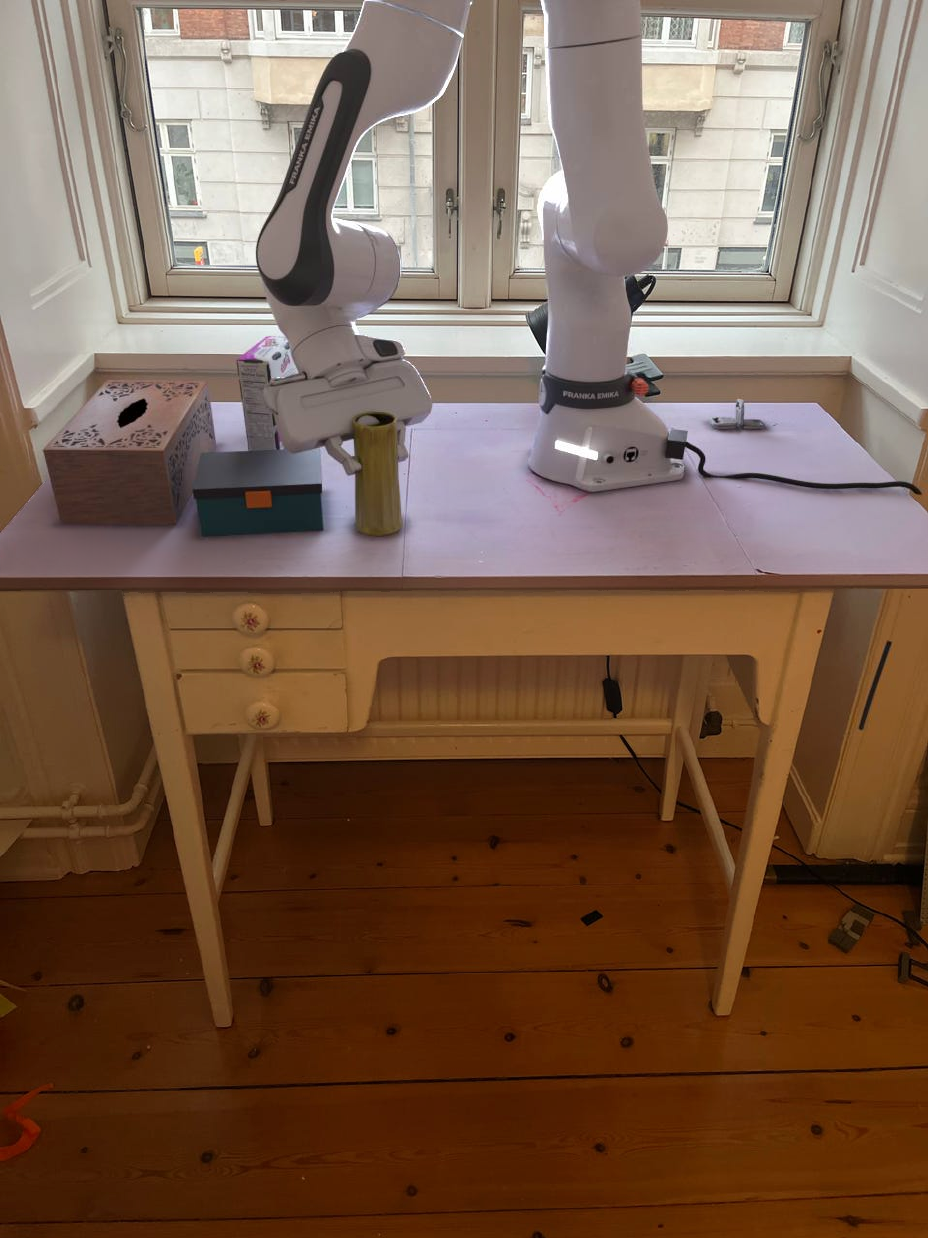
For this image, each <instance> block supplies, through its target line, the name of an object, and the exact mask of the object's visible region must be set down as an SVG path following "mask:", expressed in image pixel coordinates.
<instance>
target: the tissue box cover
mask: <svg viewBox="0 0 928 1238" xmlns="http://www.w3.org/2000/svg"><path fill="white" fill-rule="evenodd" d="M216 448H217V439H216V432H215V424H214V417H213V409H212V403H211V395H210V388H209V381H208V380H139V379H138V380H137V379H136V380H129V379H127V380H123V379H122V380H121V379H118V380H115V379H106V381H105V382H103V384H101V386H100V387H99V388H98V389H97V390H96V391H95V393H94V394H93V395H91V396H90V398H89V399H88V400H87V401H86V402H85V403H84V404H83V406H82V407H81V408H79V410H77V412H76V413H75V414H74V415H73V416H72V417H71V419H69V420H68V422H67V423H66V424H65V425H64V426H63V428H61V429H60V430H59V432H58V433H57V434H56V435H55V436H54V437H53V438H52V439H51V440H50V442H48V443H47V445H46V446H45V447H44V448H43V449H42V452H43V456H44V460H45V464H46V469H47V473H48V476H49V480H50V485H51V487H52V488H51V489H52V493H53V497H54V501H55V506H56V510H57V512H58V517H59V521H60V522H59V523H60V524H61V525H177V524H178V522H179V519H180V518H181V516H182V514H183V513H184V510H185V508H186V506H187V504H188V503H189V500H190V498H191V497H192V496H193V490H192V489H193V485H194V481H195V477H196V472H197V468H198V464H199V460H200V455H201V453H208V452H215V450H216Z"/></svg>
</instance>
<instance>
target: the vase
mask: <svg viewBox="0 0 928 1238" xmlns="http://www.w3.org/2000/svg"><path fill="white" fill-rule="evenodd" d="M365 415H368V416H372V417H375V418H376V419H377V420H378V421H379V425H377V426H364V425H360V424H358V423H357V421H358V419H359V418H360V417H362V416H365ZM353 429H354V439H353V453H354V454H353V456H356V455H357V456H358V458H359V462H360V463H361V465H362V470H361V471H360V472H359V473H357V474H354V508H355V509H354V528H355V529H356V530H357V532H359V533H360V534H364V535H366V536H371V537H384V536H389V535H392V534H395V533H397V532H399V531H400V530H401V529H402V527H403V524H404V523H403V518H402V504H401V491H400V477H399V462H398V438H397V419H396V417H395V416H394V415H392V414H390V413H386V412H365V413H361V414H358V415H356V416H355V417H354V418H353Z"/></svg>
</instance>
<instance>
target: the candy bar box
mask: <svg viewBox="0 0 928 1238" xmlns="http://www.w3.org/2000/svg"><path fill="white" fill-rule="evenodd" d="M235 360H236V361H235V362H236V366H237V374H238V382H239V389H240V398H241V405H242V412H243V420H244V427H245V434H246V441H247V451H259V450H284V449H285V448H284V447H283V444H282V442H281V439H280V436H279V433H278V430H277V427H276V423H275V419H274V414H273V412H272V411H271V410H270V409H269V407H268V405H267V403H266V401H265V399H264V396H263V390H264V387H265V386H266V385H267V384H268V383H270V380H271V379H273V378H277V377H286V376H289V375H292V374H297V373H298V370H297V368H296V366H295V364H294V361H293V359H292V357H291V352H290V346H289V342H288V340H287V338H286V337H285V336H276V335H266V336H265V337H264V338H263V339H261V340H259V342H257V343H256V344H255V345H253V346H252V347H251V348H250V349H248V350H246V351H245V352H244V353H243V354H242V355H240V356H239V357H237V358H236V359H235ZM270 387H271V386H270Z"/></svg>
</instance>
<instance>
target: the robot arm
mask: <svg viewBox="0 0 928 1238" xmlns="http://www.w3.org/2000/svg"><path fill="white" fill-rule="evenodd" d="M473 2H474V0H363V3H362V8H361V10H360V13H359V14H360V15H359V17H358V21H357V24H356V25H355V29H354V30H353V32H352V34H351V36H350V39H349V40H348V42H347V44H346V45H345V47H344V48H343V50H342V51H340V52H338V53H336V54H335V55H334V56H333V57H332V58H331V59H330V61H329V62H328V63H327V65H326V67H325V68H324V70H323V72H322V73H321V76H320V78H319V80H318V83H317V85H316V88H315V90H314V92H313V93H314V94H313V96H312V99H311V102H310V104H309V107H308V109H307V113H306V115H305V117H304V118H305V119H304V122H303V124H302V127H301V130H300V133H299V136H298V139H297V141H296V145H295V148H294V151H293V154H292V156H291V159H290V162H289V165H288V168H287V170H286V173H285V177H284V179H283V183H282V186H281V188H280V191H279V193H278V196H277V199H276V200H275V202H274V205H273V207H272V209H271V211H270V212H269V214H268V216H267V218H266V220H265V221H264V223H263V225H262V227H261V228H260V232H259V234H258V237H257V241H256V246H255V261H256V266H257V270H258V273H259V276H260V278H261V282H262V287H263V291H264V295H265V298H266V301H267V304H268V307H269V309H270V311H271V314H272V316H273V319H274V321H275V323H276V326H277V327H278V329H279V331H280V332H281V333H282V335H283V337H286V338H287V340H288V342H289V346H290V352H291V357H292V359H293V361H294V364H295V366H296V368H297V370H298V373H297V374H292V375H289V376H286V377H277V378H273V379H271V380H270V383H268V384H267V385H266V386H265V387H264V390H263V396H264V399H265V401H266V403H267V405H268V407H269V409H270V410H271V411H272V412H273V414H274V419H275V423H276V427H277V430H278V433H279V436H280V439H281V442H282V444H283V447H284V448H285V449H286V450H288V451H289V452H291V453H293V454H295V453H300V452H304V451H308V450H312V449H316V448H320V449H321V448H323V447H324V449H325V450H326V453H327V455H329V456H330V457H331V458H332V459H333V460H335V461H336V462H338V463H339V464H340V465H342V468H343V469H344V472H345V474H346V475H347V476H348V477H349V476H353V475H354V476H355V474H357V473H359V472H360V471H361V470H362V465H361V463H360V462H359V458H358V456H357V455H356V456H355V455H352V456H351V454H350V453H348V451H346V449H344V448H343V447H342V446H343V443H344V442H348V441H354V429H353V418H354V417H355V416H356V415H358V414H361V413H365V412H386V413H390V414H392V415H394V416H395V417H396V419H397V438H398V463H401V462H405V461H407V459H408V458H409V452H408V450H407V447H406V445H405V440H406V434H407V433H406V432H407V427H409V426H410V427H411V426H413V425H417V424H418V425H419V424H421V423H423V422H425V420H426V419H427V418H428V417H429V415H431V413H432V409H433V400H432V397H431V394H430V393H429V390H428V389H427V386H426V385H425V382H424V381H423V379H422V377H421V375H420V373H419V372H418V369H416V367H415V366H414V365H413V364H412V363H411V362H409V361H407V360H405V359H404V357H405V355H406V350H405V348H404V345H403V344H402V342H400V341H398V340H395V339H388V338H387V339H386V338H380V337H374V336H369V335H366V334H360V333H359V331H358V328H357V326H356V321H357V320H358V319H361V318H364V317H366V316H368V315H369V314H371V313H373V312H374V311H376V310H378V309H379V308H381V307H382V306H384V305H385V304H386V303H388V302H389V301H390V300H391V299H392V297H393V296H394V294H395V293H396V291H397V289H398V287H399V284H400V281H401V274H402V262H401V255H400V252H399V249H398V246H397V244H396V242H395V240H394V239H393V237H392V236H391V235H390V234H389V233H388V232H387V231H386V230H384V229H381V228H378V227H375V226H372V225H368V224H364V223H360V222H356V221H352V220H345V219H344V220H343V219H340V218H335V217H333V213H334V210H335V207H336V203H337V201H338V198H339V195H340V192H341V190H342V188H343V184H344V181H345V179H346V175H347V172H348V170H349V167H350V164H351V162H352V159H353V156H354V153H355V151H356V148H357V146H358V144H359V142H360V140H361V139H362V138H363V136H364V135H365V134H366V133H367V132H368V131H369V130H370V129H371V128H373V127H374V126H375V125H378V124H380V123H381V122H383V121H386V120H388V119H389V120H390V119H392V118H395V117H396V118H397V117H402V116H407V115H410V114H414V113H416V112H419V111H421V110H424V109H425V108H428V107H429V106H431V105H432V104H433V103H434V102H436V101H437V100H438V99H439V98H440V97H441V96H443V94H444V93H445V91H446V88H447V87H448V85H449V82H450V81H451V78H452V76H453V74H454V71H455V69H456V66H457V62H458V59H459V54H460V51H461V47H462V44H463V43H462V42H463V39H464V35H465V31H466V25H467V23H468V18H469V13H470V8H471V5H472V4H473ZM540 3H541V7H542V12H543V14H544V16H543V18H544V19H543V21H544V22H543V23H544V24H543V27H544V29H543V31H544V32H543V33H544V54H545V73H546V87H547V88H546V89H547V90H546V91H547V107H548V108H547V109H548V121H549V122H548V123H549V126H550V129H551V132H552V134H553V136H554V140H555V143H556V148H557V151H558V156H559V160H560V165H561V170H560V171H558V172H557V173H554V174H553V176H551V177H549V179H548V180H547V182H546V183H545V184H544V186H543V188H542V190H541V192H540V195H539V198H538V201H537V202H538V203H537V214H538V220H539V223H540V227H541V233H542V244H543V245H542V248H543V262H544V273H545V274H544V275H545V282H546V284H545V285H546V293H547V294H546V295H547V308H548V309H547V330H546V331H547V333H546V348H545V364H544V365H543V366H542V368H541V377H540V381H539V394H538V395H539V397H538V403H539V408H540V413H539V418H538V419H539V420H538V424H537V429H536V433H535V438H534V441H533V443H532V448H531V451H530V453H529V456H528V458H527V465H528V467H529V468H530V470H532V472H533V473H535V474H537V475H539V476H541V477H542V478H545V479H548V480H550V481H553V482H557V483H561V484H565V485H570V486H574V487H576V488H578V489H580V490H582V491H586V492H589V493H590V492H592V493H597V492H603V491H610V490H617V489H624V488H632V487H637V486H638V487H639V486H645V485H646V486H647V485H652V484H653V485H654V484H660V483H667V482H673V481H679V480H682V479H683V478H684V475H685V465H684V462H683V460H684V457H685V451H686V449H688V450H690V451H692V452H693V453H695V454H696V455H697V456H698V457H699V462H698V466H697V471H698V473H699V474H700V476H702V477H703V478H714V479H715V478H716V479H731V480H732V479H733V480H742V479H743V480H745V479H759V480H765V481H766V480H767V481H770V482H771V481H772V482H777V483H782V484H787V485H791V486H796V487H801V488H802V487H803V488H808V489H809V488H810V489H817V490H818V489H819V490H848V489H849V490H850V489H887V488H888V489H889V488H905V489H908V490H910V491H911V492H913V494H915V495H919V496H922V495H923V493H922V491H921V490H920V489H919V487H917V486H916V485H914V484H913V483H911V482H908V481H900V480H899V481H896V480H895V481H885V482H883V481H882V482H845V483H844V482H843V483H827V482H826V483H823V482H822V483H821V482H812V481H804V480H799V479H793V478H788V477H783V476H779V475H773V474H768V473H761V472H741V473H740V472H739V473H733V474H726V475H715V474H711V473H709V472H707V471H706V470H705V469H704V466H705V464H706V455H705V452H703V451H702V450H701V449H700V448H699V447H697V446H696V445H694V444H692V443H690V442H689V441H687V438H688V434H689V433H688V430H684V429H683V430H682V429H674V428H670V429H669V430H668V427H667V425H666V423H665V422H664V421H663V420H662V418H661V417H660V416H659V415H657V413H655V412H654V410H652V409H651V408H650V407H649V406H647V405H646V403H644V402H642V401H641V399H639V398H638V397H644V396H646V395H647V393H648V392H649V390H650V386H649V384H648V382H647V381H645V379H643V378H641V377H638V376H637V374H635V373H634V372H633V371H630V370H629V369H628V368H627V361H628V351H629V343H630V334H631V324H632V309H631V306H630V302H629V299H628V295H627V290H626V281H625V277H632V276H635V275H639V274H641V273H643V272H645V271H646V270H647V269H649V268H650V267H651V266H653V264H654V263H655V262H656V261H657V260H658V259H659V258H660V256H661V254H662V252H663V250H664V248H665V246H666V243H667V238H668V233H669V226H668V225H669V224H668V217H667V214H666V212H665V209H664V207H663V205H662V202H661V201H660V198H659V195H658V191H657V187H656V181H655V177H654V176H655V175H654V171H653V165H652V159H651V154H650V153H651V152H650V149H649V144H648V143H649V142H648V137H647V131H646V126H645V125H646V124H645V118H644V108H643V107H644V103H643V46H642V45H643V42H642V41H643V40H642V39H643V38H642V37H643V36H642V34H643V33H642V31H643V29H642V27H643V26H642V6H641V0H540ZM270 386H271V387H270ZM637 396H638V397H637ZM357 423H358V424H360V425H364V426H377V425H379V421H378V420H377V419H376V418H375V417H372V416H368V415H365V416H362V417H360V418H359V419H358V421H357ZM892 644H893V641H890V640H886V642H885V645H884V648H883V651H882V654H881V656H880V660H879V663H878V665H877V669H876V671H875V673H874V677H873V681H872V684H871V686H870V690H869V692H868V695H867V698H866V701H865V705H864V708H863V711H862V714H861V718H860V721H859V725H858V727H857V729H858V730H859V731H864V728H865V726H866V722H867V718H868V715H869V711H870V709H871V706H872V702H873V700H874V696H875V693H876V690H877V687H878V684H879V681H880V679H881V676H882V673H883V670H884V667H885V664H886V661H887V658H888V656H889V653H890V650H891V647H892Z"/></svg>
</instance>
